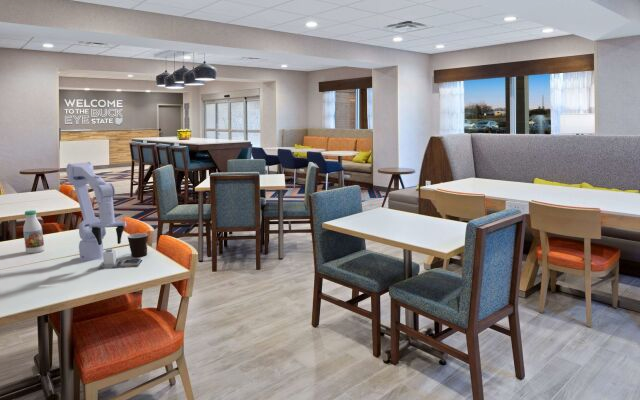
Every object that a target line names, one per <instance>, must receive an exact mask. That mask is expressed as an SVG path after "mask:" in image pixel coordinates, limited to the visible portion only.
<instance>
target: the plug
mask: <svg viewBox="0 0 640 400" xmlns="http://www.w3.org/2000/svg"><path fill="white" fill-rule="evenodd" d="M116 253H117V252H116V249H114V250H113V248H110V249H109V248H106V249H105V250H104V253H103V259H102V260H103V261H104V265H107V264H115V263H116V262H117V261H116V260H117V254H116Z"/></svg>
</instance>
